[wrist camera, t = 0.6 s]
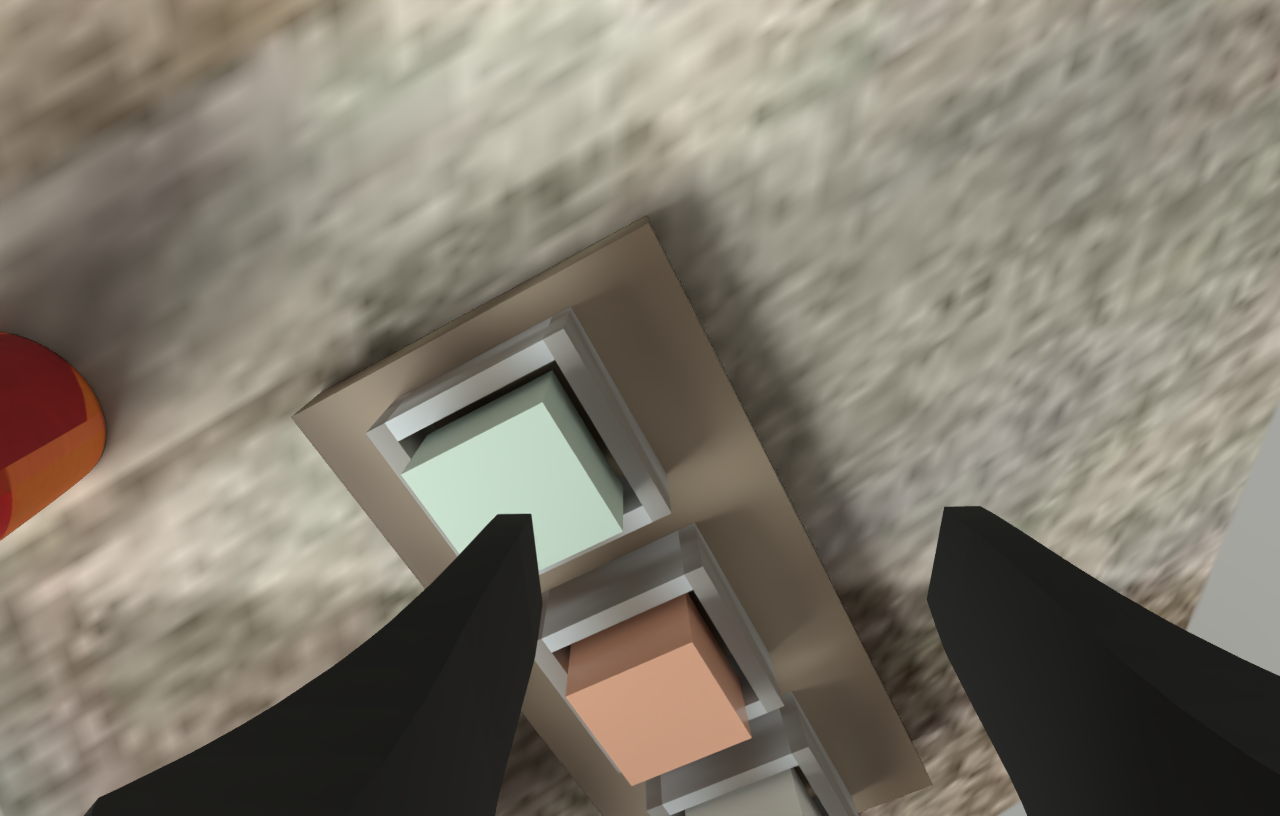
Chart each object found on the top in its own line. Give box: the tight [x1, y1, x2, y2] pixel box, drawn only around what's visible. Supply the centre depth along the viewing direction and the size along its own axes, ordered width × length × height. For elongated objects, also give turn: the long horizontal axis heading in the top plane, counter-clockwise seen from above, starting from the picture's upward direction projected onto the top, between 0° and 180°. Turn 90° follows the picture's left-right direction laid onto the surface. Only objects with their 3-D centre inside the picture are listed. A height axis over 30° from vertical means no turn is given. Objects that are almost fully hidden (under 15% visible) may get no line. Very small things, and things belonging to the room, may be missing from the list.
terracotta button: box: [566, 593, 752, 786], centre depth 21 cm, size 4×4×2 cm
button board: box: [291, 216, 933, 816], centre depth 23 cm, size 12×24×4 cm, turn 28°
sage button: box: [401, 370, 623, 571], centre depth 18 cm, size 4×4×2 cm
